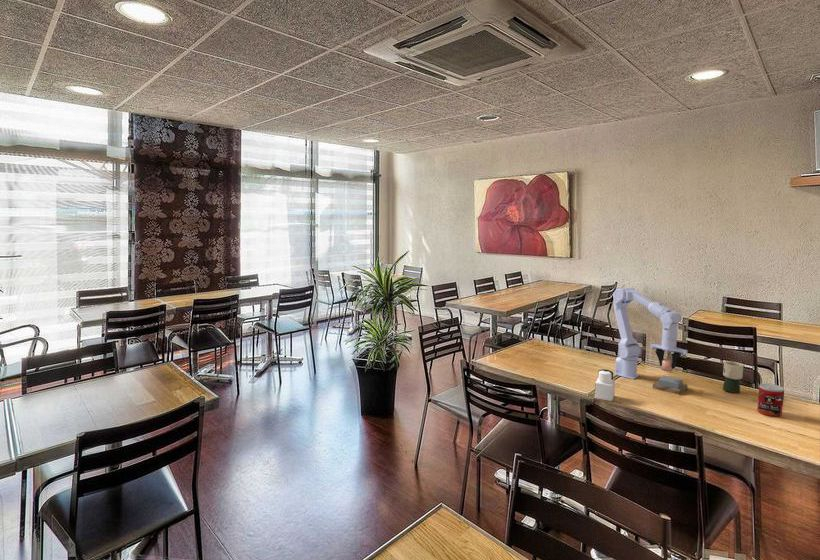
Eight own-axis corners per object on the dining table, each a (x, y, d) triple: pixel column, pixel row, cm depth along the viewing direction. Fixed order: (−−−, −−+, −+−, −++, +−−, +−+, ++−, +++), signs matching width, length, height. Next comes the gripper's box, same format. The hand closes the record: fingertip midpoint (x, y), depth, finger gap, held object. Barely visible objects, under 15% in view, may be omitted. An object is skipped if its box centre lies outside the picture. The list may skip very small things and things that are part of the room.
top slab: (658, 384, 202) (658, 379, 201) (663, 380, 207) (663, 375, 207) (677, 389, 196) (678, 383, 196) (682, 384, 202) (682, 379, 201)
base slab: (652, 389, 202) (652, 384, 202) (660, 383, 210) (661, 378, 209) (679, 396, 194) (679, 390, 194) (687, 390, 202) (687, 384, 201)
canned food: (755, 413, 175) (757, 386, 173) (758, 407, 180) (761, 381, 179) (780, 419, 169) (783, 392, 168) (782, 413, 175) (785, 386, 174)
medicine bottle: (596, 392, 197) (598, 367, 196) (614, 395, 194) (615, 369, 192) (594, 398, 191) (595, 371, 190) (612, 401, 188) (613, 374, 186)
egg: (659, 369, 201) (660, 360, 200) (663, 367, 203) (664, 358, 203) (670, 372, 197) (670, 362, 197) (674, 370, 200) (674, 360, 199)
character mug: (725, 386, 204) (728, 359, 203) (744, 390, 199) (747, 362, 197) (717, 392, 197) (720, 364, 196) (736, 396, 192) (739, 367, 190)
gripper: (648, 336, 201) (647, 365, 203) (684, 342, 191) (682, 372, 192) (654, 333, 206) (652, 361, 208) (689, 339, 195) (687, 369, 197)
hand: (667, 366), depth 200 cm, fingers closed on egg, 4 cm apart
